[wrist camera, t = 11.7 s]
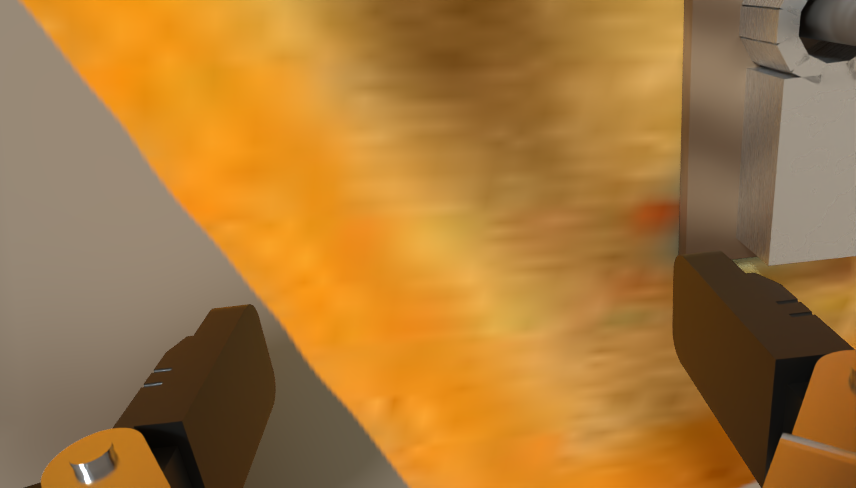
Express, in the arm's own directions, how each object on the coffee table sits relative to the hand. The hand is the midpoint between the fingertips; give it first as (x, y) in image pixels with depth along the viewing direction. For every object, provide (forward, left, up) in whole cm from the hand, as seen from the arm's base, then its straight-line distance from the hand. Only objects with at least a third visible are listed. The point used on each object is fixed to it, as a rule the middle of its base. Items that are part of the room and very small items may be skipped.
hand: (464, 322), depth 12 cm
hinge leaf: (+3, +19, -25) cm, 31 cm away
